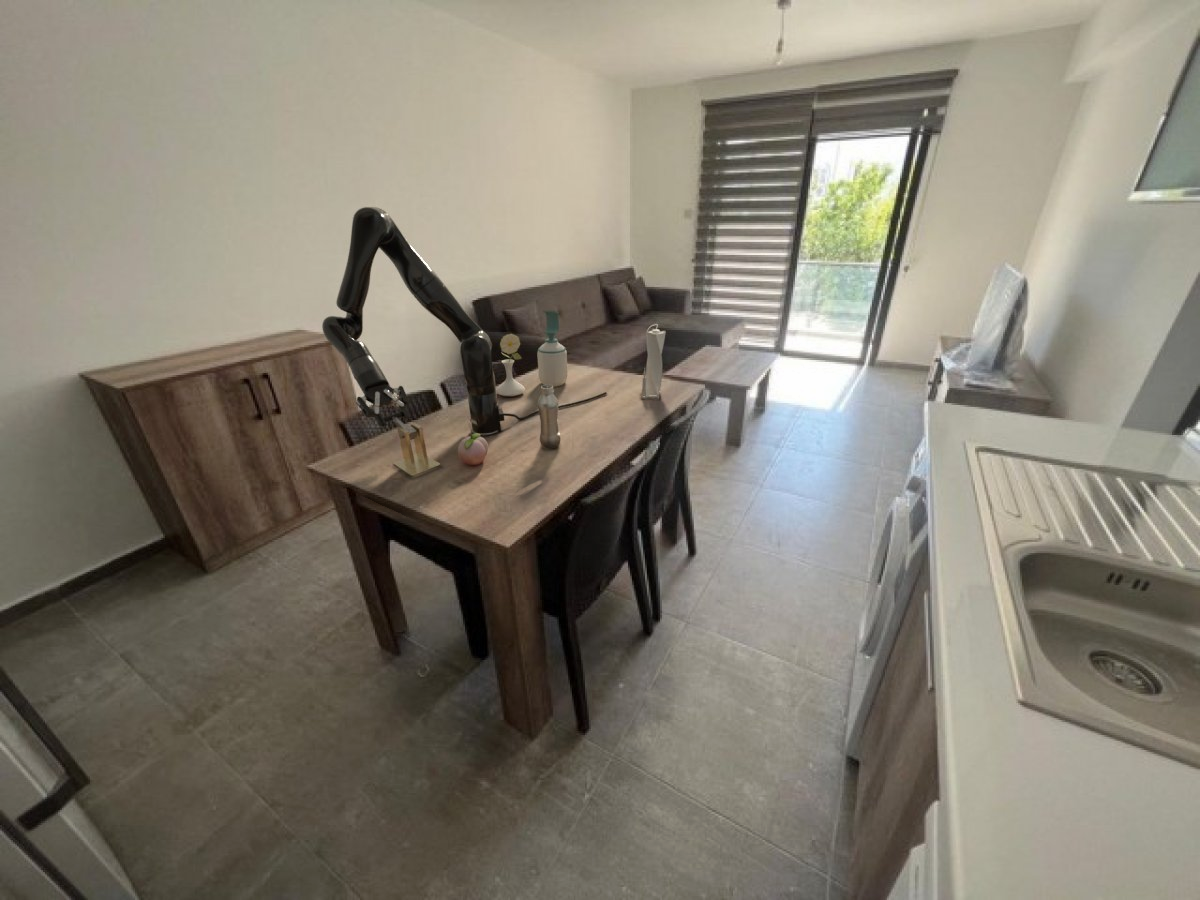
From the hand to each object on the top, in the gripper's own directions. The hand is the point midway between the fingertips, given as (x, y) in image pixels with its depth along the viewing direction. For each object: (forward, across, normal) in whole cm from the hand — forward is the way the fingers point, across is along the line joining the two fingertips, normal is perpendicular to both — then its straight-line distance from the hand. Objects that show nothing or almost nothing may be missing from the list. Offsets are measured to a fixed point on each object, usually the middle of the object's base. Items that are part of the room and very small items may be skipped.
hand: (396, 422), depth 139 cm
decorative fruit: (+22, +12, -6) cm, 26 cm away
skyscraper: (+25, +94, -8) cm, 97 cm away
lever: (+3, 0, -2) cm, 3 cm away
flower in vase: (-5, +58, +23) cm, 62 cm away
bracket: (+14, 0, +2) cm, 14 cm away
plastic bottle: (+28, +35, -11) cm, 46 cm away
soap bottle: (-3, +78, +21) cm, 81 cm away
